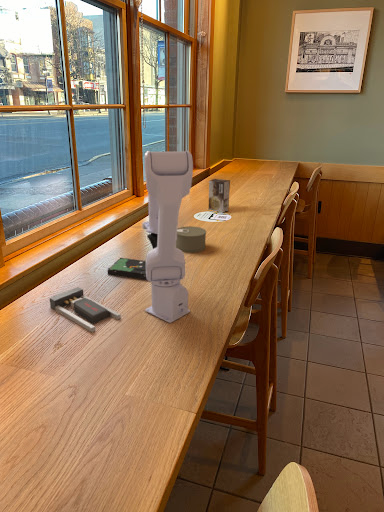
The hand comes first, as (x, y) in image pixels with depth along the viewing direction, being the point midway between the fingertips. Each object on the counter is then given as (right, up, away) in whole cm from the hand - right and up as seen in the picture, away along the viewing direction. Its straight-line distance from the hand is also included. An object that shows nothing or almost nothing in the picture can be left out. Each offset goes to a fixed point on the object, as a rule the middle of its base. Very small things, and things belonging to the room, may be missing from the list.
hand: (159, 257), depth 115 cm
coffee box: (+24, +24, +87) cm, 94 cm away
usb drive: (-18, -15, -12) cm, 26 cm away
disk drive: (-9, -5, +14) cm, 17 cm away
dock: (-19, -15, -12) cm, 27 cm away
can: (+9, +3, +35) cm, 37 cm away
